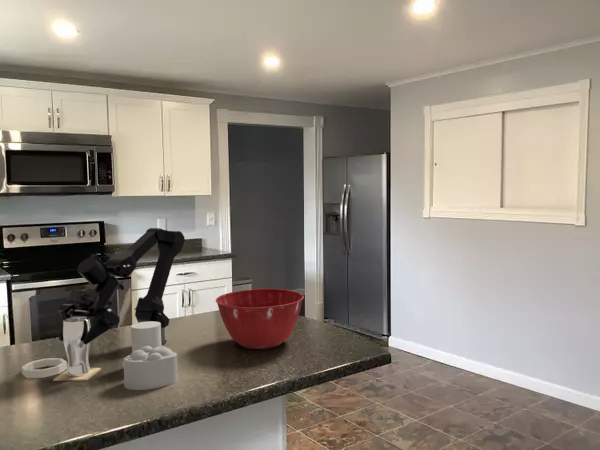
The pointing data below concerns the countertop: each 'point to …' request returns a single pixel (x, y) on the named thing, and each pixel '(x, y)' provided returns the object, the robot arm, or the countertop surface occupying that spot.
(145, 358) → the lumpy-topped squat cylinder
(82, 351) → the beer glass
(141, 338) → the cup
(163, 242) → the robot arm
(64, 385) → the countertop surface
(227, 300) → the mixing bowl
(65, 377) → the coaster
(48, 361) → the holder ring
